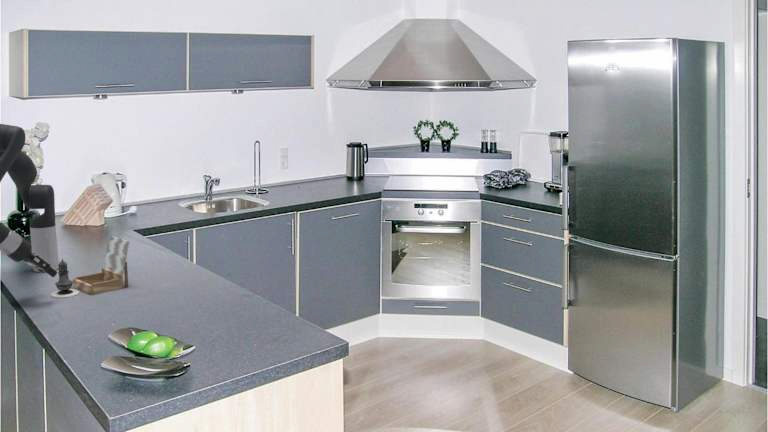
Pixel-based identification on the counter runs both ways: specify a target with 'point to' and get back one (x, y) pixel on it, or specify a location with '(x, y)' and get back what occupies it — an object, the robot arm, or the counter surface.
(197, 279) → the counter surface
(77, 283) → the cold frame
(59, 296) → the saucer
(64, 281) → the grey tall domed piece
